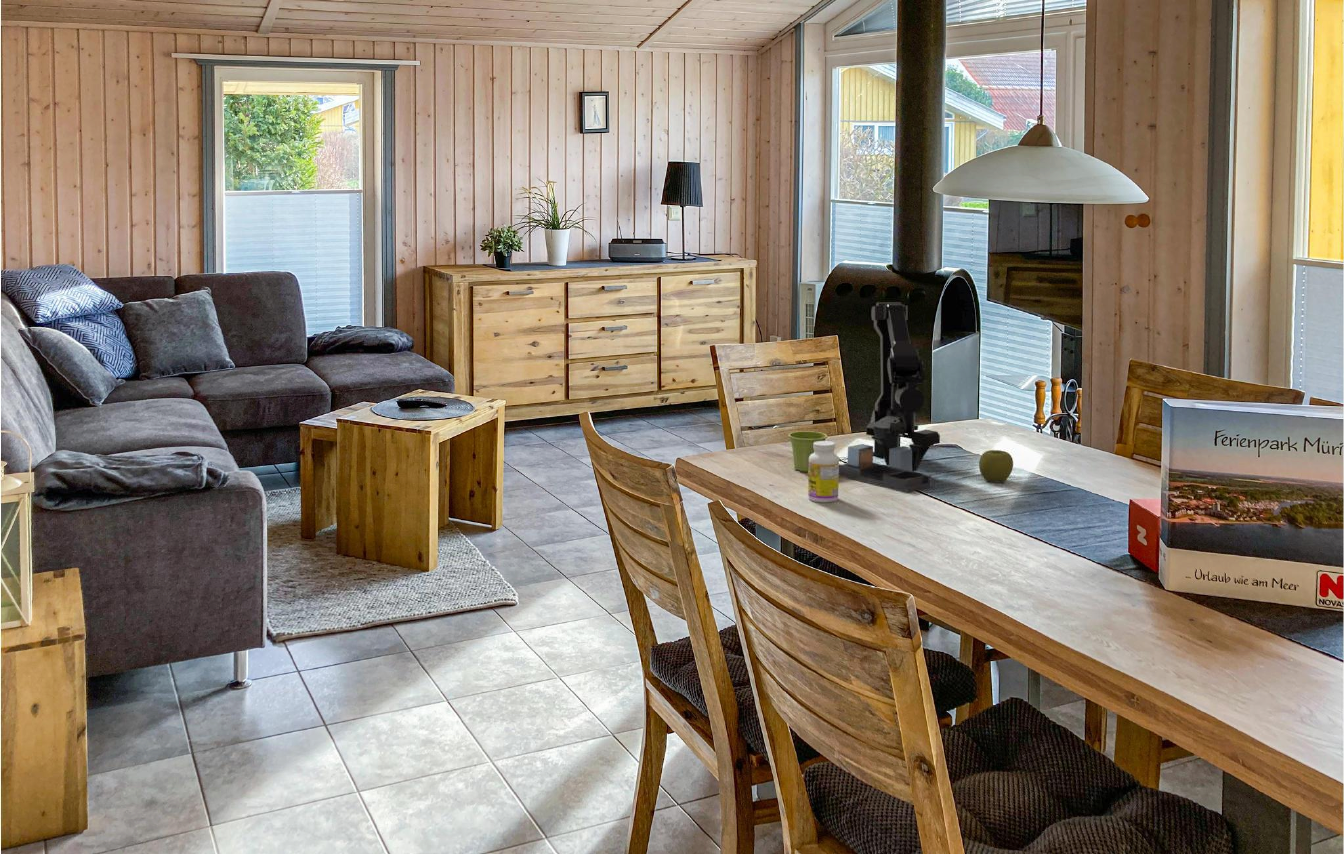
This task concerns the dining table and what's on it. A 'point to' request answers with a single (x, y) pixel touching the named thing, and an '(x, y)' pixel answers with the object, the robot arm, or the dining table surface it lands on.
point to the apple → (995, 465)
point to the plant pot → (804, 447)
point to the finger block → (901, 458)
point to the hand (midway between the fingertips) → (901, 468)
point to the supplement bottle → (823, 473)
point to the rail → (880, 471)
